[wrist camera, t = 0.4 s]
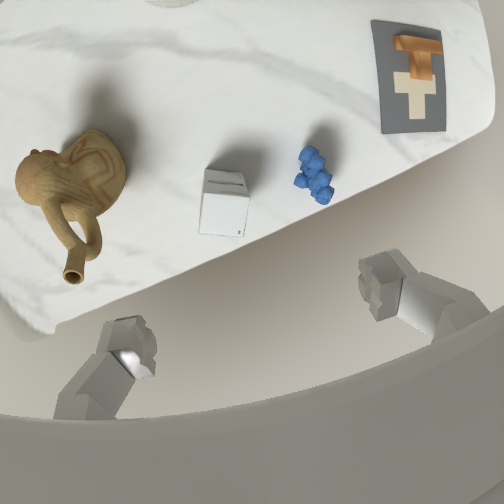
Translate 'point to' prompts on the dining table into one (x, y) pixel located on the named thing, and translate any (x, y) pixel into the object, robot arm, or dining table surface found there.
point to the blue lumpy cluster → (314, 175)
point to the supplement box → (223, 204)
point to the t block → (418, 54)
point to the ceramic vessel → (74, 193)
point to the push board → (408, 83)
